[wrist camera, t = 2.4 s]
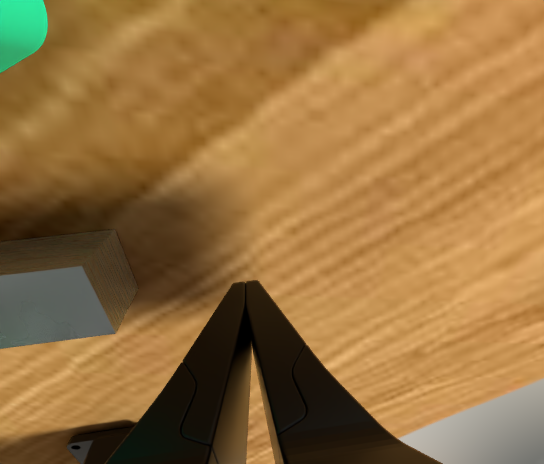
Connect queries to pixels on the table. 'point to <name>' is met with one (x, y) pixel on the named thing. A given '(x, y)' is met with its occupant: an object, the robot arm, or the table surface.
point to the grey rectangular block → (63, 287)
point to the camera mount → (21, 30)
